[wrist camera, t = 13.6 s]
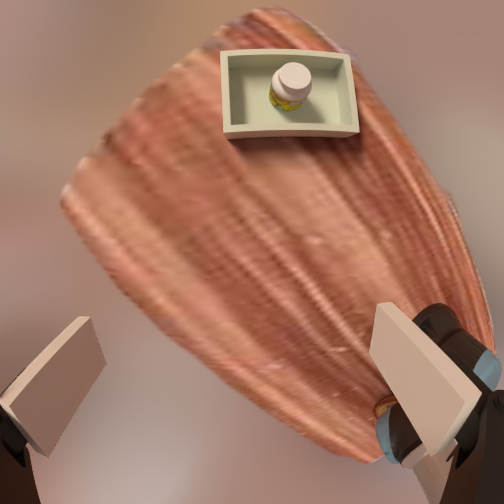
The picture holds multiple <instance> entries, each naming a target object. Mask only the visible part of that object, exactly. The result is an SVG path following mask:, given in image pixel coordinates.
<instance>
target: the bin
mask: <svg viewBox="0 0 504 504" xmlns="http://www.w3.org/2000/svg"><path fill="white" fill-rule="evenodd" d="M220 59H221V85H222V108H223V128H224V134H225V136H226V139H241V138H260V137H335V138H347V137H349V136H352V135H354V134H357V133H359V121H358V112H357V103H356V96H355V88H354V81H353V75H352V69H351V63H350V58H349V55H348V54H341V53H333V52H323V51H312V50H295V49H247V50H230V51H220ZM291 62H295V63H300V64H302V65H304V66H305V67H306V68H307V69H308V70H309V71H310V73H311V82H312V89H311V91H310V93H309V95H308V96H307V98H306V99H305V100H304V102H303V103H302V105H301V106H300V107H299V108H298V109H297V110H295V111H292V112H283V111H280V110H278V109H276V108H275V107H274V106H273V105H272V104H271V102H270V100H269V90H270V86H271V82H272V77H273V75H274V74H275V72H276V71H277V70H279V69H280V68H282V67H283V66H284V65H285V64H287V63H291Z"/></svg>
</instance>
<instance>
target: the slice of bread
mask: <svg viewBox="0 0 504 504" xmlns="http://www.w3.org/2000/svg"><path fill="white" fill-rule="evenodd" d="M397 402H398V400H397V398H396V397H395V395H391V396H389V397H386V398H384V399H382V400H381V401H379V402H378V403H376V405H375V407H374V410H373V413H374V415H375V416H376V417H377V418H379V416H380V415H382V414H383V413H384V412H385V411H387V410H388V409H389V408H390V406H391V405H393V404H395V403H397Z"/></svg>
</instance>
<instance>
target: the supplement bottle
mask: <svg viewBox="0 0 504 504" xmlns="http://www.w3.org/2000/svg"><path fill="white" fill-rule="evenodd" d="M311 89H312V82H311V73H310V71H309V70H308V69H307V68H306V67H305V66H304V65H302V64H300V63H295V62H291V63H287V64H285V65H284V66H283V67H282V68H280V69H279V70H277V71H276V72H275V74H274V75H273V77H272V82H271V86H270V90H269V100H270V102H271V104H272V105H273V106H274V107H275V108H276V109H278V110H280V111H283V112H292V111H295V110H297V109H298V108H299V107H300V106H301V105H302V103H303V102H304V100H305V99H306V98H307V96H308V95H309V93H310V91H311Z"/></svg>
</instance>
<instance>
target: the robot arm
mask: <svg viewBox="0 0 504 504" xmlns="http://www.w3.org/2000/svg"><path fill="white" fill-rule="evenodd" d="M369 355H370V357H371V358H372V360H373V362H374V363H375V365H376V366H377V368H378V369H379V371H380V373H381V374H382V376H383V377H384V379H385V381H386V382H387V384H388V385H389V387H390V389H391V390H392V392H393V393H394V395H395V397H396V398H397V400H398V402H397V403H395V404H393V405H391V406H390V408H389V409H388V410H387V411H385V412H384V413H383V414H382V415H380V416H379V418H378V419H377V422H376V435H377V439H378V442H379V445H380V447H381V449H382V451H383V452H384V454H385V456H386V458H387V459H388V460H389V461H390V462H391V463H393V464H397V463H400V464H401V466H402V467H403V468H408V469H412V470H413V471H414V473H415V475H416V477H417V479H418V481H419V483H420V484H421V487H422V489H423V491H424V493H425V495H426V497H427V499H428V501H429V504H504V390H495V388H496V386H497V384H498V382H499V379H500V376H501V370H502V367H501V363H500V361H499V359H497V358H496V356H495V355H494V354H493V353H492V351H491V350H490V349H487V348H486V347H485V346H484V345H483V344H481V343H480V342H479V341H478V340H477V339H475V338H474V337H473V336H472V335H471V334H469V333H468V332H467V331H466V330H464V329H463V327H462V325H461V324H460V322H459V320H458V319H457V316H456V314H455V312H454V311H453V310H452V309H451V308H450V307H448V306H447V305H445V304H442V303H437V304H433V305H431V306H428V307H427V308H425V309H424V310H422V311H421V312H420V313H419V314H418V315H417V316H416V317H415V318H414V319H413V321H411V320H410V319H409V318H408V317H407V316H406V315H405V314H404V313H403V312H402V311H401V310H400V309H399V308H398V307H396V306H395V305H394V304H393V303H392V302H386V303H379V304H377V307H376V314H375V321H374V327H373V333H372V339H371V344H370V350H369ZM106 364H107V363H106V361H105V358H104V355H103V353H102V350H101V347H100V345H99V342H98V339H97V336H96V333H95V330H94V327H93V323H92V320H91V317H81V316H79V317H78V318H76V319H75V320H74V321H73V322H72V323H71V324H70V325H69V326H68V327H67V328H66V329H65V330H64V331H63V332H62V333H61V334H60V335H59V336H58V337H56V338H55V340H54V341H53V342H51V343H50V345H48V346H47V348H45V350H43V351H42V352H41V353H40V355H38V356H37V357H36V359H34V361H33V362H32V363H31V364H30V365H29V366H28V367H26V368H25V369H24V370H23V371H22V372H21V373H20V374H19V375H18V377H16V378H15V379H14V380H13V383H11V384H10V385H9V386H8V387H7V388H6V389H5V390H4V391H3V392H2V394H1V395H0V504H41V503H40V499H39V496H38V492H37V488H36V485H35V480H34V475H33V471H32V465H31V461H30V454H29V451H28V449H27V447H26V446H25V445H26V443H27V442H28V443H29V444H30V445H31V446H32V447H33V449H34V450H35V451H36V452H38V453H40V454H42V455H44V456H46V457H49V456H50V454H51V452H52V451H53V449H54V447H55V446H56V444H57V442H58V440H59V439H60V437H61V435H62V433H63V432H64V430H65V428H66V427H67V425H68V423H69V422H70V420H71V418H72V417H73V415H74V413H75V412H76V410H77V409H78V407H79V405H80V404H81V402H82V400H83V399H84V397H85V396H86V394H87V393H88V391H89V390H90V388H91V387H92V385H93V384H94V382H95V381H96V379H97V377H98V376H99V374H100V373H101V371H102V370H103V368H104V367H105V365H106ZM494 390H495V391H494ZM454 438H455V439H456V441H457V442H458V444H457V445H456V444H455V442H454Z"/></svg>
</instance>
